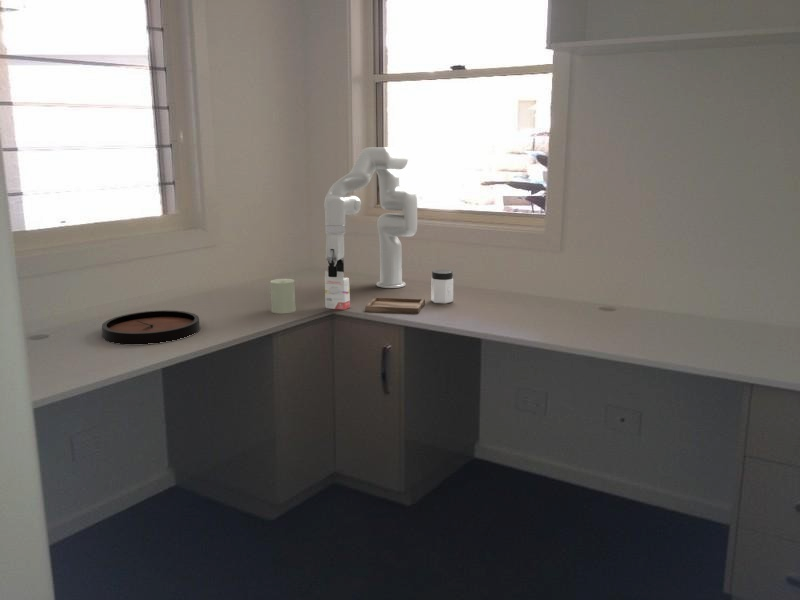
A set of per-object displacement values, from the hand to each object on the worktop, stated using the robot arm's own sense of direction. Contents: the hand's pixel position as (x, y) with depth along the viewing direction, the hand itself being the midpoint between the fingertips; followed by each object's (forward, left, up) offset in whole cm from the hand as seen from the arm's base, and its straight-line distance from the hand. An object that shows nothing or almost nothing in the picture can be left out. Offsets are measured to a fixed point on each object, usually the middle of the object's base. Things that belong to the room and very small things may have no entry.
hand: (336, 274), depth 277 cm
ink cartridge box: (0, 0, -13) cm, 13 cm away
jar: (-18, +38, -13) cm, 44 cm away
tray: (-4, +22, -13) cm, 26 cm away
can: (+8, -19, -13) cm, 24 cm away
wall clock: (+44, -53, -14) cm, 70 cm away
